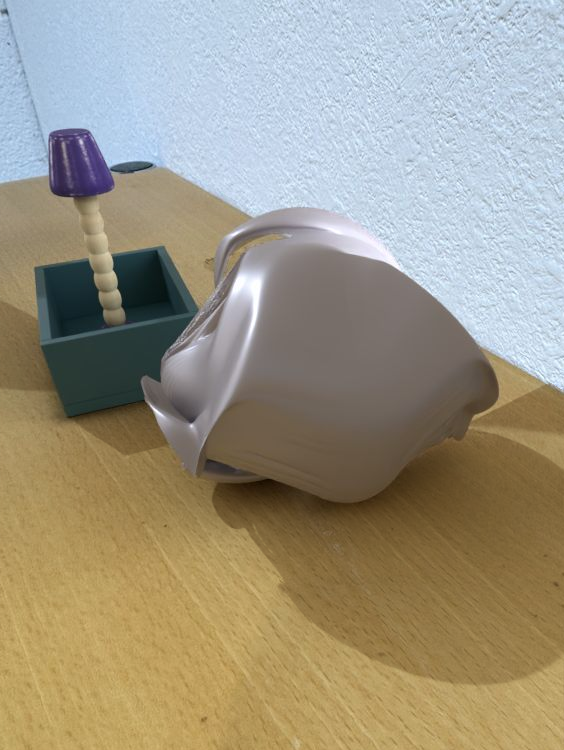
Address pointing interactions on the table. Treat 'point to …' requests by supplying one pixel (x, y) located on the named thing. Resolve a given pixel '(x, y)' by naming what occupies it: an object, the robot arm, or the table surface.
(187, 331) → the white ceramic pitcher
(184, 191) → the table surface
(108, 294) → the toy lamp
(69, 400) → the bin
